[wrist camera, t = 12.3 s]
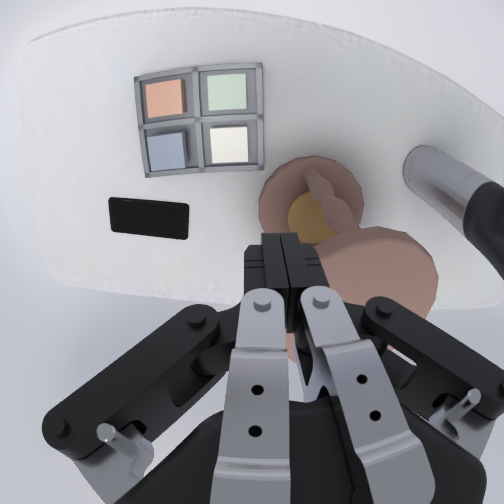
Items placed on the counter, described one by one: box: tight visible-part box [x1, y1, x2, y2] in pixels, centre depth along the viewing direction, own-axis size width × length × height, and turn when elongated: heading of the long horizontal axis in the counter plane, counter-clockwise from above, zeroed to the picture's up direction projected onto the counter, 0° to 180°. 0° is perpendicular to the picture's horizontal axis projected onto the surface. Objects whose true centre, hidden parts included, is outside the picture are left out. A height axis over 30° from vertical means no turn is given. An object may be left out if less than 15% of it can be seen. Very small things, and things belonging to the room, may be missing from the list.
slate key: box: [147, 131, 188, 171], centre depth 35 cm, size 5×5×2 cm
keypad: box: [134, 63, 263, 178], centre depth 35 cm, size 18×16×2 cm
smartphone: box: [108, 197, 189, 240], centre depth 45 cm, size 7×1×15 cm
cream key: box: [210, 125, 248, 163], centre depth 36 cm, size 5×5×2 cm
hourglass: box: [259, 156, 438, 363], centre depth 34 cm, size 18×18×25 cm
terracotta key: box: [146, 79, 186, 118], centre depth 32 cm, size 5×5×2 cm
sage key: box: [207, 74, 247, 111], centre depth 32 cm, size 5×5×2 cm
